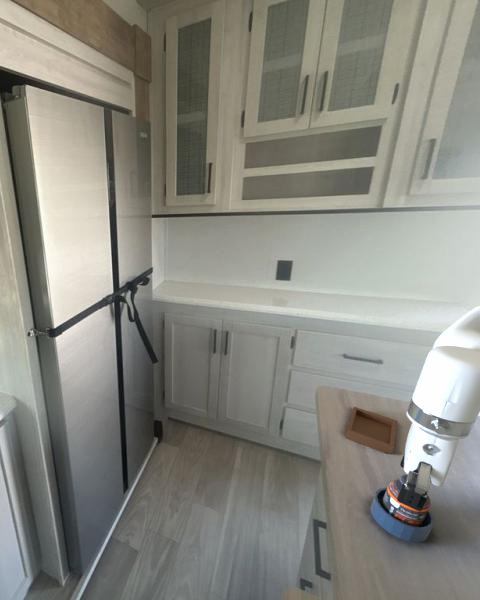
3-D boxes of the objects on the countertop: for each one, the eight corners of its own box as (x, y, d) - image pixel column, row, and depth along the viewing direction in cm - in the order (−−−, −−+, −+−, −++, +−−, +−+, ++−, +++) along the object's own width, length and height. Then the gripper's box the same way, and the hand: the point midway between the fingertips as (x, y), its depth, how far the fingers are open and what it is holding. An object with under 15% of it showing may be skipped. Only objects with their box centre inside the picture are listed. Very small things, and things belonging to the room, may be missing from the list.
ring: (406, 506, 69) (413, 490, 68) (437, 549, 62) (446, 532, 60) (360, 502, 71) (365, 485, 69) (385, 542, 64) (392, 525, 62)
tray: (352, 413, 94) (353, 406, 93) (395, 427, 88) (397, 420, 87) (345, 437, 87) (347, 430, 86) (391, 455, 81) (394, 447, 80)
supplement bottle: (388, 535, 65) (403, 495, 60) (371, 506, 70) (384, 467, 66) (425, 540, 63) (444, 500, 59) (405, 511, 68) (421, 471, 64)
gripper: (477, 459, 48) (438, 535, 54) (468, 398, 59) (437, 467, 66) (406, 434, 53) (378, 507, 59) (410, 382, 64) (387, 448, 71)
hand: (409, 486), depth 62 cm, fingers open, 9 cm apart
